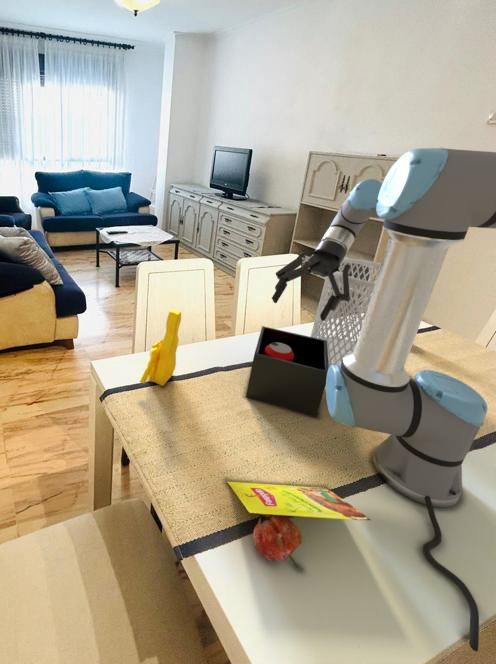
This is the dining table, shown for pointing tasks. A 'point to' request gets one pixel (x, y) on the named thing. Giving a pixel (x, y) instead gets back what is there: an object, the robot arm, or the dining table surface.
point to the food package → (294, 501)
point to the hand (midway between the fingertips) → (296, 309)
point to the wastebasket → (341, 345)
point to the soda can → (279, 351)
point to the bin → (290, 372)
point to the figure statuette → (164, 353)
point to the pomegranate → (276, 537)
